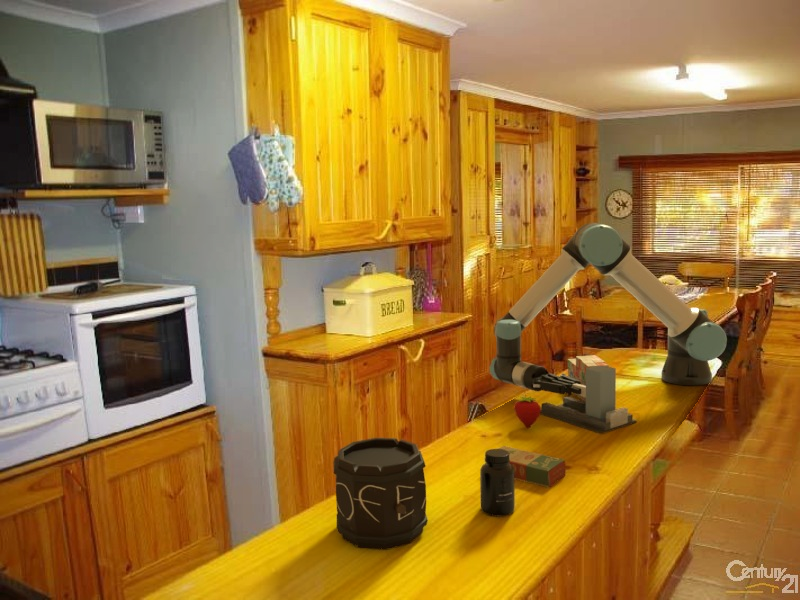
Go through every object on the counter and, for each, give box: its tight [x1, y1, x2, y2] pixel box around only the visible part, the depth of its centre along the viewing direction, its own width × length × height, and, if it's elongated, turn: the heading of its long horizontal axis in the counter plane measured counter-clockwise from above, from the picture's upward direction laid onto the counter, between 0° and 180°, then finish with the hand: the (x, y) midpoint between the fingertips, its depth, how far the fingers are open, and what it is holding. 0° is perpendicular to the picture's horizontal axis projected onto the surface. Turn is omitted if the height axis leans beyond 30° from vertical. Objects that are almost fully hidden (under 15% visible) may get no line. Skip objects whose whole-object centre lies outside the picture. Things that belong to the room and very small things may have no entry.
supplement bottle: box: [479, 448, 516, 517], centre depth 143 cm, size 7×7×12 cm
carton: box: [498, 445, 567, 488], centre depth 161 cm, size 8×16×4 cm, turn 51°
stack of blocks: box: [567, 354, 610, 402], centre depth 218 cm, size 21×6×12 cm, turn 2°
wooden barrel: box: [332, 437, 428, 551], centre depth 136 cm, size 18×18×16 cm
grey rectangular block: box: [586, 365, 617, 420], centre depth 193 cm, size 6×5×14 cm
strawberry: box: [513, 391, 541, 429], centre depth 191 cm, size 6×8×10 cm
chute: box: [540, 396, 637, 434], centre depth 198 cm, size 14×23×5 cm, turn 34°
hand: (592, 393), depth 195 cm, fingers closed
